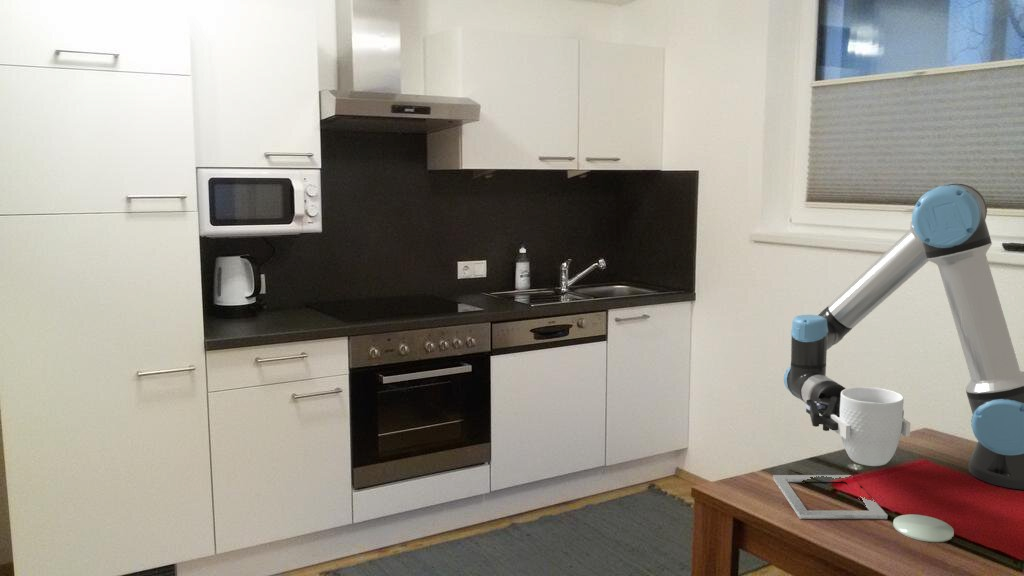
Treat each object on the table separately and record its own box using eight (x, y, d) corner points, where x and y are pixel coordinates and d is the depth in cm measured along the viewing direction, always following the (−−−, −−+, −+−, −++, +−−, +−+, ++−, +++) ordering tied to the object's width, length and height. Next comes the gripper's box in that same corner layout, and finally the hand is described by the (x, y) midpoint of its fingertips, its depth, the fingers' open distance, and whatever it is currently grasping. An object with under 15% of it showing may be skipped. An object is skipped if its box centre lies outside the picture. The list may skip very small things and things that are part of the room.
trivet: (938, 517, 151) (938, 514, 151) (964, 542, 141) (964, 539, 141) (884, 517, 152) (884, 514, 152) (907, 542, 142) (907, 538, 142)
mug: (823, 442, 161) (825, 381, 159) (878, 442, 161) (881, 380, 159) (850, 471, 147) (852, 403, 145) (910, 470, 146) (914, 403, 144)
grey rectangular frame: (850, 478, 170) (850, 475, 170) (887, 519, 151) (887, 515, 151) (772, 478, 171) (773, 475, 171) (799, 518, 152) (800, 514, 152)
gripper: (878, 411, 171) (937, 447, 149) (772, 416, 170) (816, 453, 148) (880, 377, 169) (939, 409, 148) (773, 382, 168) (817, 414, 147)
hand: (878, 431), depth 148 cm, fingers closed on mug, 11 cm apart
